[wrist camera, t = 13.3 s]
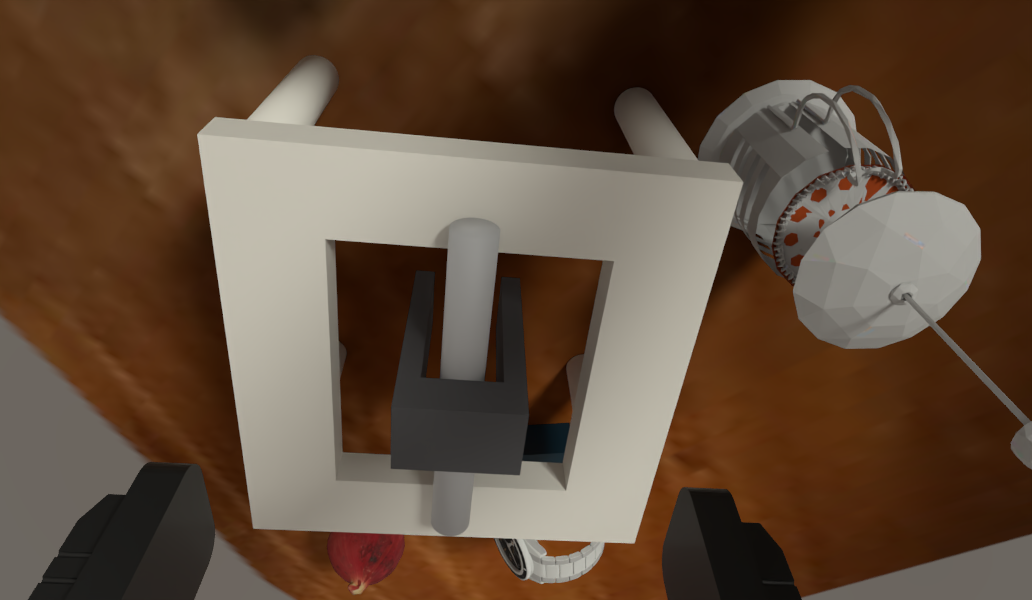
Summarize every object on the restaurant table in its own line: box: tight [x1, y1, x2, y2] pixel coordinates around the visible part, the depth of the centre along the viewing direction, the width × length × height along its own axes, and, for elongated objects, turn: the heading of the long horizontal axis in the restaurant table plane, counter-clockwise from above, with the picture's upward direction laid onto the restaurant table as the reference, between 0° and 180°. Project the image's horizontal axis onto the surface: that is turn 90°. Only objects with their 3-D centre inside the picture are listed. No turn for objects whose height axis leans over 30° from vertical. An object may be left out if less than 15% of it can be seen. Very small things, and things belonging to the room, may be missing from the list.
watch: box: [494, 423, 604, 584], centre depth 50 cm, size 6×8×11 cm
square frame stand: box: [197, 55, 743, 543], centre depth 38 cm, size 21×22×16 cm
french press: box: [698, 80, 1032, 469], centre depth 31 cm, size 10×12×25 cm
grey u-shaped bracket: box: [391, 270, 529, 475], centre depth 34 cm, size 6×4×11 cm, turn 84°
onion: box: [327, 532, 405, 595], centre depth 54 cm, size 6×6×8 cm
